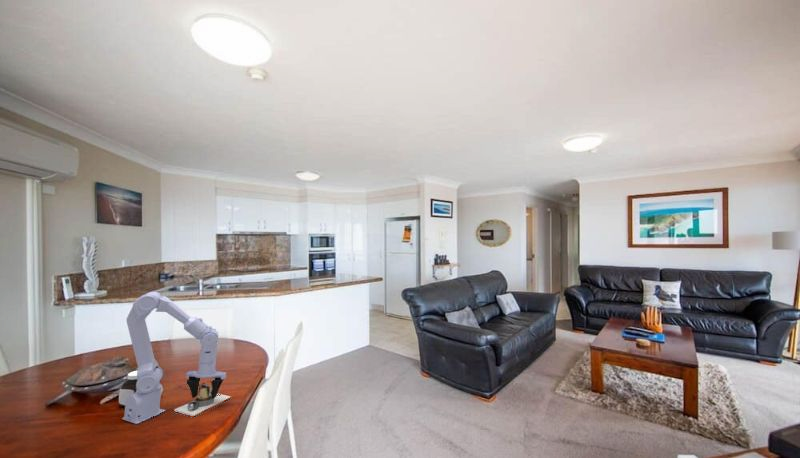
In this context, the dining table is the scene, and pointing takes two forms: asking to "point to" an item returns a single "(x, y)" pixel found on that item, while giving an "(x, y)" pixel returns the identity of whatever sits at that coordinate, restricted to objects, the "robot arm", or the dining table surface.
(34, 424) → the dining table surface
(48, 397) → the dining table surface
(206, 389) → the cylinder
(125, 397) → the spread jar
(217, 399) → the base plate
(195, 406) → the steel shaft
